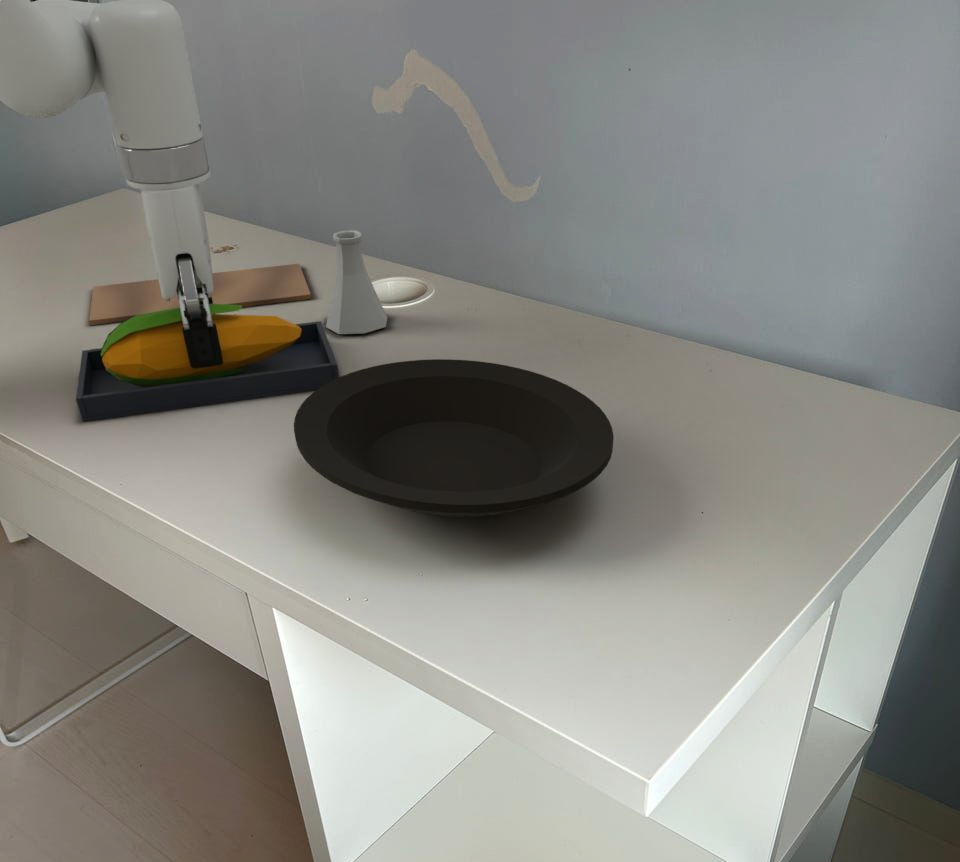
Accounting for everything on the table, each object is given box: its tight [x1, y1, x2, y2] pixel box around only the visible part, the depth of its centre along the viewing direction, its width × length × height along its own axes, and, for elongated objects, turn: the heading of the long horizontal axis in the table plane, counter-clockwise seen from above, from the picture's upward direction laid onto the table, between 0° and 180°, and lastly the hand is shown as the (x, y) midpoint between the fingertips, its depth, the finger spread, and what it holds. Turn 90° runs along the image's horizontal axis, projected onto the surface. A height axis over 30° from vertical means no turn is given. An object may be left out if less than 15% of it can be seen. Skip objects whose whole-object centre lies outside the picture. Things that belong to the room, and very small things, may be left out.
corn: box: [101, 304, 302, 387], centre depth 100 cm, size 7×8×20 cm
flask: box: [325, 229, 388, 335], centre depth 110 cm, size 7×7×10 cm
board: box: [88, 263, 312, 326], centre depth 122 cm, size 26×12×1 cm, turn 105°
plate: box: [293, 358, 614, 518], centre depth 82 cm, size 28×24×6 cm
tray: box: [75, 320, 340, 423], centre depth 102 cm, size 25×12×2 cm, turn 105°
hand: (205, 349), depth 100 cm, fingers closed on corn, 6 cm apart
